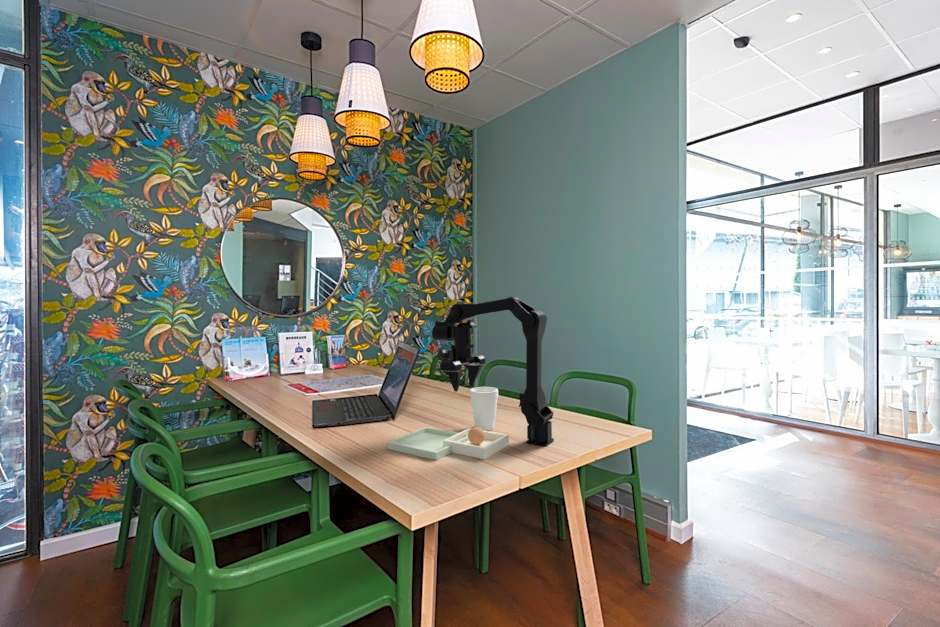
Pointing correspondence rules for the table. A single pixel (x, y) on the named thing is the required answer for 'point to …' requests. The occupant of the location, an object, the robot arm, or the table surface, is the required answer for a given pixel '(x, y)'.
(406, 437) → the tray
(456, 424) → the table surface
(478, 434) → the ball
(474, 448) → the white square open box
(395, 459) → the table surface
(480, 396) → the foam cup
